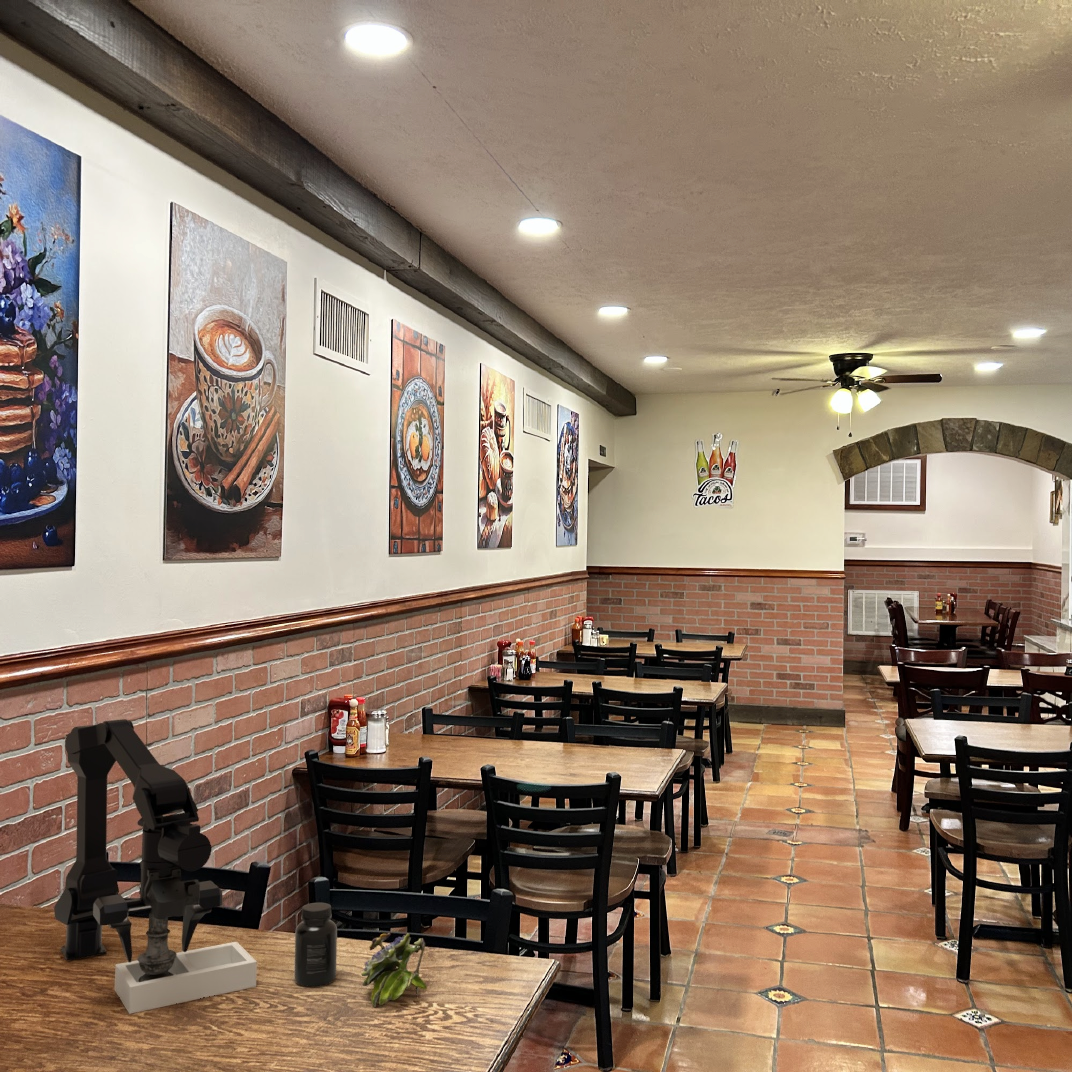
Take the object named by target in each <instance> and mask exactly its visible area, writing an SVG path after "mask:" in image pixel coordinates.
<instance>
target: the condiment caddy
mask: <svg viewBox="0 0 1072 1072" xmlns="http://www.w3.org/2000/svg"><path fill="white" fill-rule="evenodd" d="M176 954H177V955H176V957H175V958H174V963H173V965H172V967H171V968H170V969H169V970H168V972H170V973H172V974H173V976H168V977H163V978H158V979H153V980H148V981H143V982H139V981H138V980H139V978H140V977H141V976H143V975H144V974H145V973H144V972H143V971H142V970H141V968H140V965H139V961H138V960H137V959H136V960H131V962H130V963H129V962H128V961H127V962H121V963H116V964H115V965H114V966H115V968H114V971H115V972H114V991H115V993H116V994H117V997H120V998H119V999H120V1001H121V1003H122V1004H123V1006H124V1007H125V1009H126V1010H127V1013H128V1014H129V1015H131V1014H135V1013H140V1012H144V1011H150V1010H155V1009H159V1008H162V1007H167V1006H172V1005H176V1003H177V1004H181V1003H186V1002H187V1003H188V1002H191V1001H195V1000H199V999H200V998H201V999H204V998H203V997H205V998H210V997H214V995H215V996H218V995H224V994H227V993H232V992H237V991H242V990H245V989H251V988H256V987H257V969H258V968H257V964H258V961H257V960H256V959H255V958H254V957H253V956H252V954H251V955H250V953H249V952H248V951H247V950H246V949H245V948H244V947H243V946H242V945H240V944H239V942H238V941H233V942H227V943H222V944H218V945H217V944H216V945H212V946H206V947H205V946H204V947H201V948H195V949H190V950H187V951H186V952H183V951H180V952H176ZM209 996H210V997H209Z"/></svg>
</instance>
